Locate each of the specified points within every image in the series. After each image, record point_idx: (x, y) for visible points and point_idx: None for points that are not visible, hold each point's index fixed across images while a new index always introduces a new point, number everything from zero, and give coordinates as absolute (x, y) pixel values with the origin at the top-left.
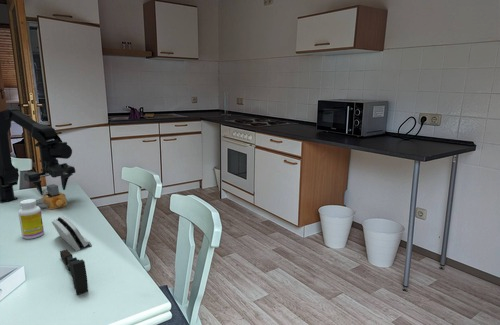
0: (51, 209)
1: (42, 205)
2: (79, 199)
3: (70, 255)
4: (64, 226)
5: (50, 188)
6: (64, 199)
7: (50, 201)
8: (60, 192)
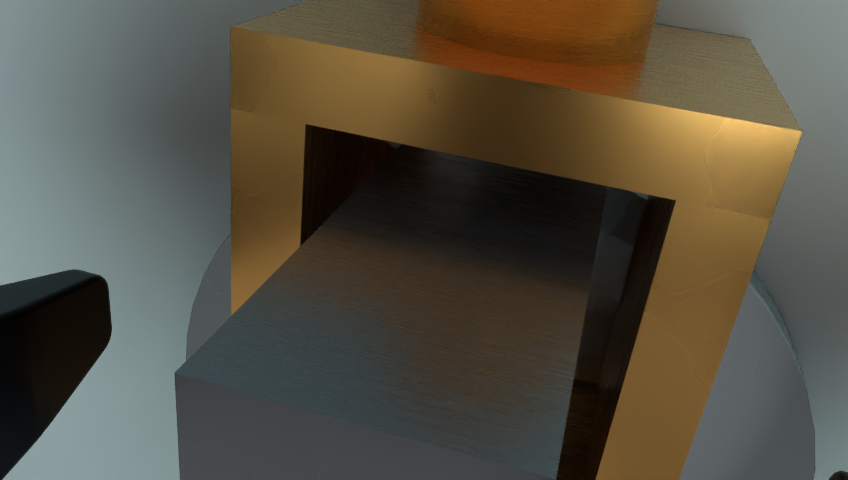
0: (741, 41)
1: (745, 351)
2: (35, 94)
3: None
4: None
5: (553, 465)
6: (341, 4)
7: (765, 93)
8: None
